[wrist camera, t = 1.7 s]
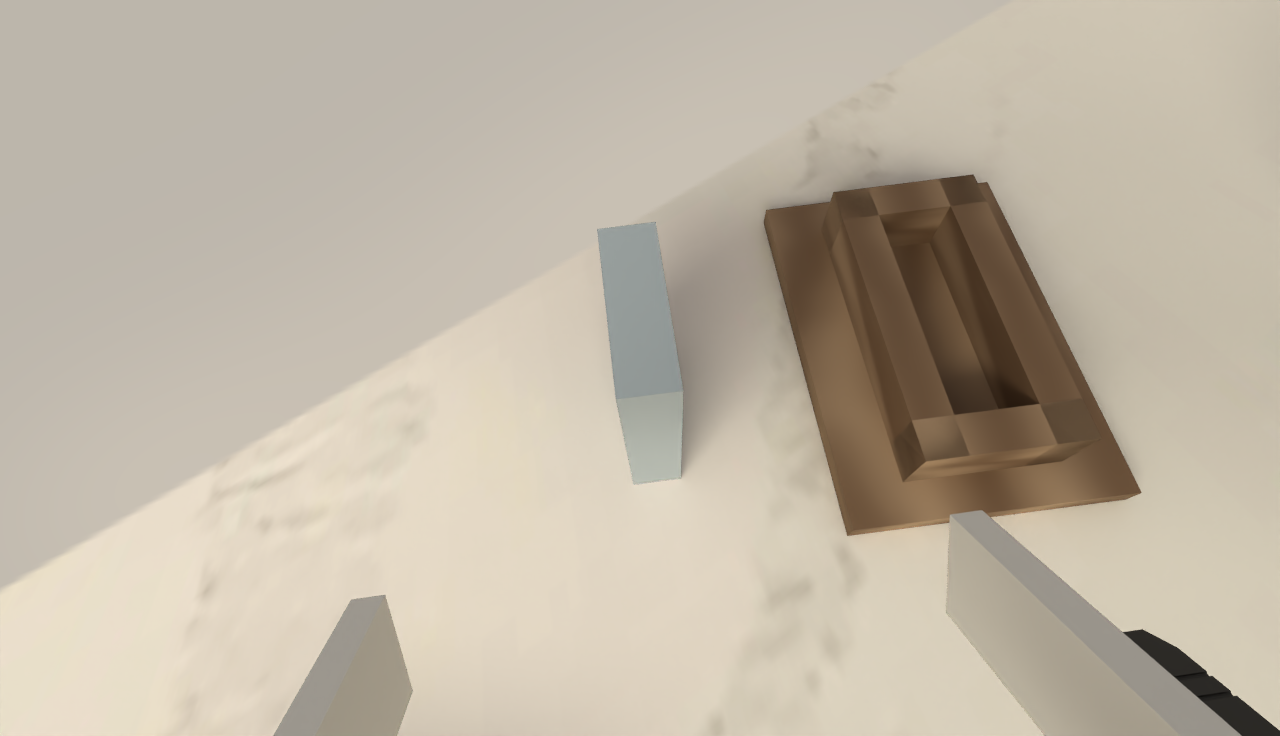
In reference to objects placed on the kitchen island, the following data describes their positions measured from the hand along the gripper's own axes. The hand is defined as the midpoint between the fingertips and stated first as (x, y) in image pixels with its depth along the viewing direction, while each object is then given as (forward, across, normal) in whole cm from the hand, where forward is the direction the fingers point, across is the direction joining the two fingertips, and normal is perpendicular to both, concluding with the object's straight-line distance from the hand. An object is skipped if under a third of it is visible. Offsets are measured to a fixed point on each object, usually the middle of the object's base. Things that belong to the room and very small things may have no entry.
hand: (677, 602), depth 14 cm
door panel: (+20, +1, -3) cm, 20 cm away
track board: (+21, +17, -2) cm, 27 cm away
